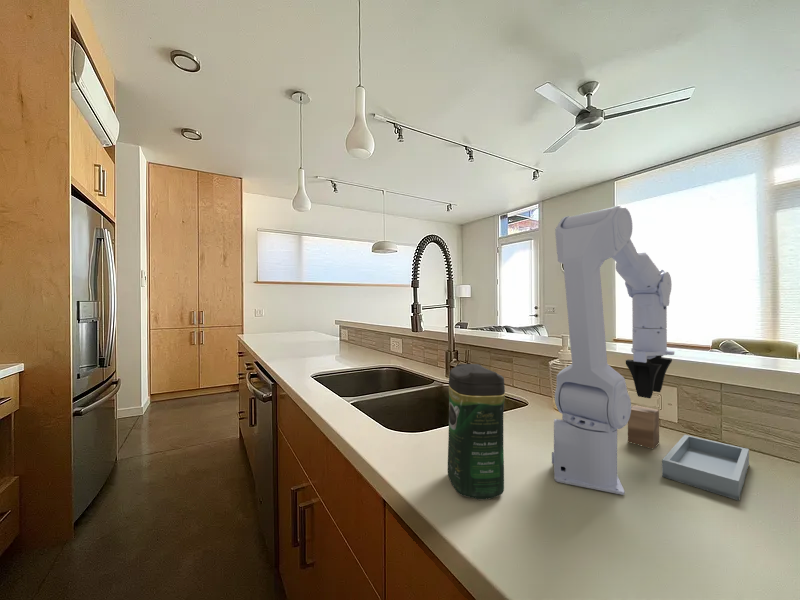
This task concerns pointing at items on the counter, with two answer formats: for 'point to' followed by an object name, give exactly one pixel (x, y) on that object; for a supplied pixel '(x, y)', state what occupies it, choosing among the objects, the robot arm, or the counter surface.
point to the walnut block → (643, 426)
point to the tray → (707, 465)
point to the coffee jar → (476, 431)
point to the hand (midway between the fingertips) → (649, 394)
